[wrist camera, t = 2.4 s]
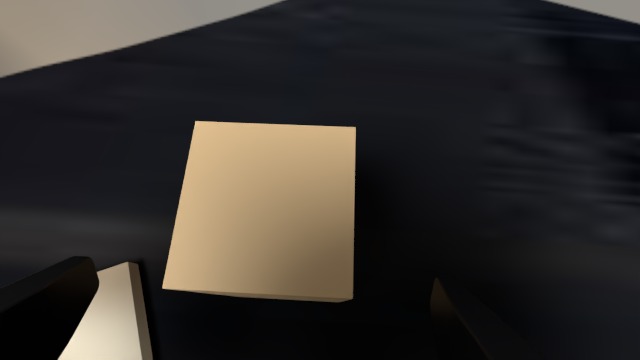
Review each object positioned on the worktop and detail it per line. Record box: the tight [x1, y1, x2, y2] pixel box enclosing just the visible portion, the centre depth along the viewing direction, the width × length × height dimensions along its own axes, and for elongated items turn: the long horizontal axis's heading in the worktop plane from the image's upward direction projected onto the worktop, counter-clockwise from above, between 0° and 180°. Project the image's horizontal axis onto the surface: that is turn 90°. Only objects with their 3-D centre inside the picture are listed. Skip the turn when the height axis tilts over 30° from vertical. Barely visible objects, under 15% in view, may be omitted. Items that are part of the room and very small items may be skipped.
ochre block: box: [162, 121, 356, 302], centre depth 14 cm, size 5×5×9 cm
